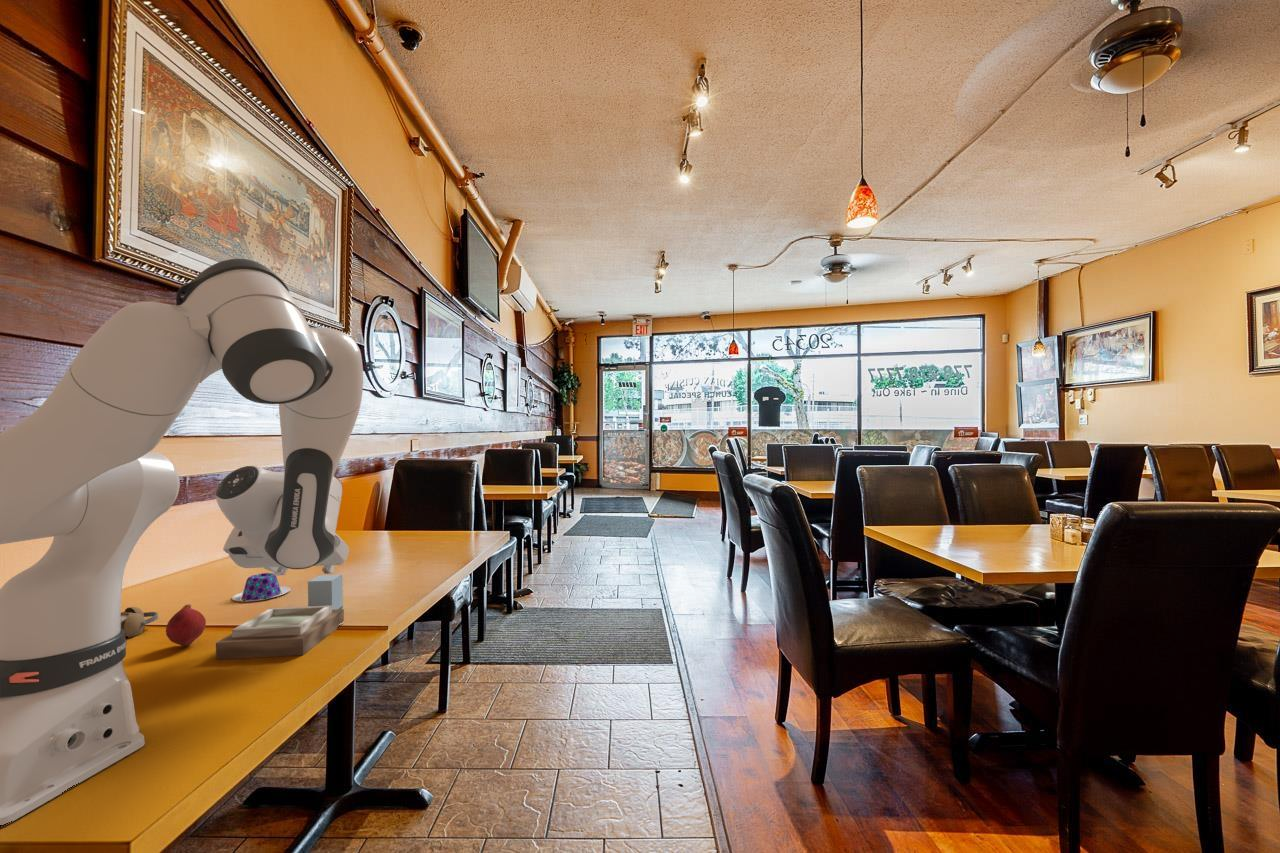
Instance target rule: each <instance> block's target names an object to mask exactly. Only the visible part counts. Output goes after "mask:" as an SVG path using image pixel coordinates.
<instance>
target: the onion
mask: <svg viewBox="0 0 1280 853" xmlns="http://www.w3.org/2000/svg"><path fill="white" fill-rule="evenodd" d="M206 627H207V620H206V618H205V616H204V615H203V614H202V613H201V612H200V611H198V610H196V609H193V608H192V604H190V603H186V604H185V605H183V607H181V609H180V610H179V611H177V612H176V613H174V615H173V616H171V618H170V619H169V620H168V622H167V624H166V627H165V634H166V637H167V638H168V640H170V642H171V643H174V644H176V645H179V646H182V647H188V646H191V645H192V644H193V643H194V641H196V640H198V638H199V637H200V636H201V635H203V633H204V631H205V629H206Z"/></svg>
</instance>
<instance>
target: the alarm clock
mask: <svg viewBox="0 0 1280 853" xmlns="http://www.w3.org/2000/svg"><path fill="white" fill-rule="evenodd" d="M148 617H149V618H148ZM158 619H159V613H158V612H157V611H146V612H144V611H143V610H142V609H141V608H139V607H137V606H129V607H127V608H125V609H124V611H121V628H122V629H124V630H125V637H126V636H127V637H128V638H134V637H136V636H138V635H140V634H141V633H142V632H143V630H144V629H145V626H146V625H149V624H151V623H153V622H155V621H157V620H158Z"/></svg>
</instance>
